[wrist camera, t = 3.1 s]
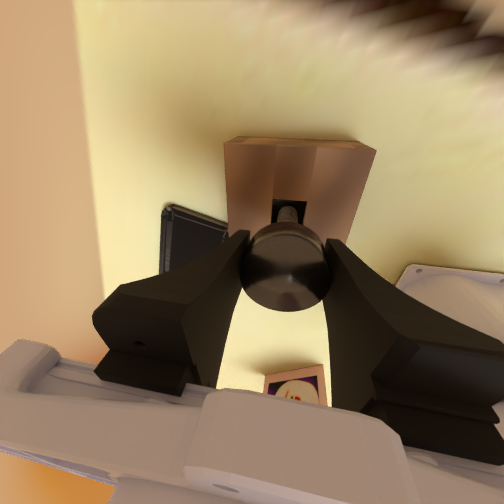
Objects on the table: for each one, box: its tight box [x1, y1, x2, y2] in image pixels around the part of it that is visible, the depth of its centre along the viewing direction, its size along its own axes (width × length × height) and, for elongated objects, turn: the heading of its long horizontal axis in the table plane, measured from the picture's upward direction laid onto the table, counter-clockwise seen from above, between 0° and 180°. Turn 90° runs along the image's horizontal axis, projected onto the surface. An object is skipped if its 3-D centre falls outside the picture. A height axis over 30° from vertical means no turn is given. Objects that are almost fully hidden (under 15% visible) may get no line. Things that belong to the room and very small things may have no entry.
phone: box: [159, 204, 229, 274], centre depth 25 cm, size 8×1×15 cm
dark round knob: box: [240, 206, 331, 312], centre depth 12 cm, size 4×4×7 cm
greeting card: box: [263, 365, 328, 406], centre depth 30 cm, size 11×7×15 cm, turn 128°
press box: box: [224, 137, 377, 247], centre depth 16 cm, size 9×9×4 cm
